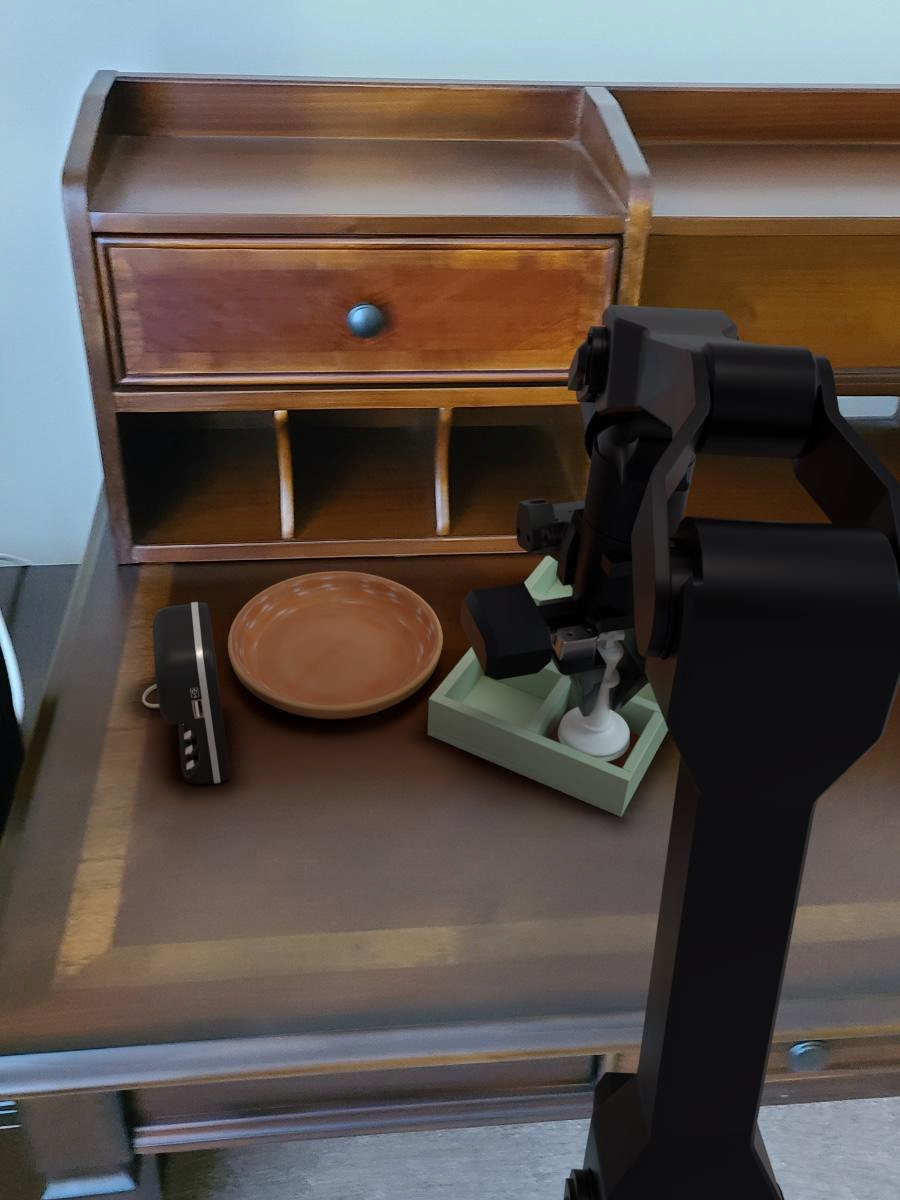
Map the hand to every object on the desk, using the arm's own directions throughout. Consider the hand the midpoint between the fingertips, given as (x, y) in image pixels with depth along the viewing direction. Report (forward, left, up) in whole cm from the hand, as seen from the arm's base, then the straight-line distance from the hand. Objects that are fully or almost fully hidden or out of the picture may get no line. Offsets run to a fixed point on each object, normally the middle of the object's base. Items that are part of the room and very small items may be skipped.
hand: (598, 709), depth 72 cm
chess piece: (0, 0, -3) cm, 3 cm away
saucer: (+20, +4, -5) cm, 21 cm away
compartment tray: (+5, -7, -5) cm, 9 cm away
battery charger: (+21, +17, -5) cm, 28 cm away
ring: (+27, +15, -5) cm, 32 cm away
